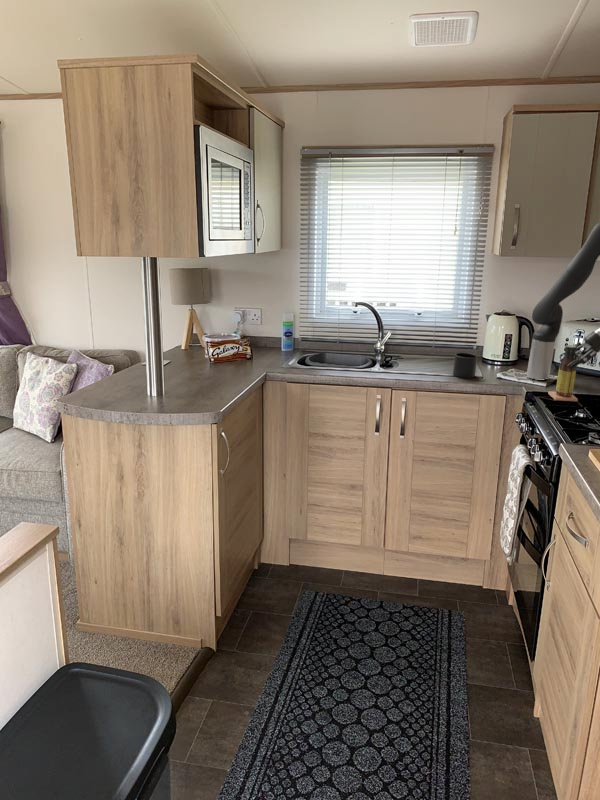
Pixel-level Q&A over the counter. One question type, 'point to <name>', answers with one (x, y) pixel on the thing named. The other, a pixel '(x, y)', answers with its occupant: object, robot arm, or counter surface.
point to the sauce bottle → (566, 373)
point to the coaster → (562, 397)
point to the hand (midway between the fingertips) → (565, 365)
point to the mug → (465, 365)
